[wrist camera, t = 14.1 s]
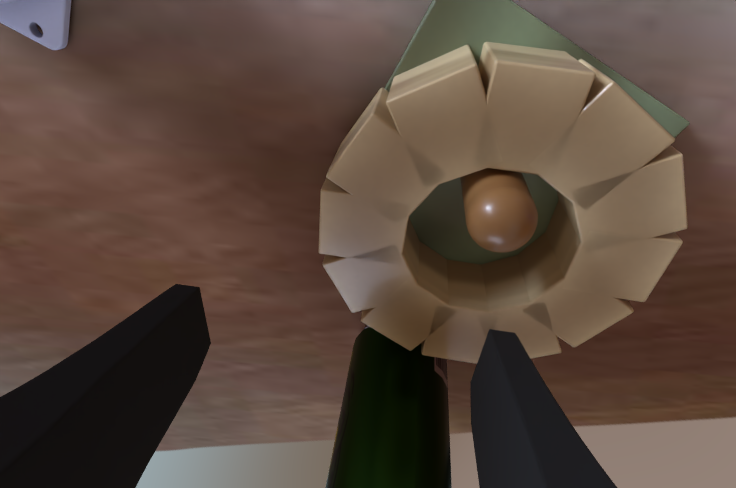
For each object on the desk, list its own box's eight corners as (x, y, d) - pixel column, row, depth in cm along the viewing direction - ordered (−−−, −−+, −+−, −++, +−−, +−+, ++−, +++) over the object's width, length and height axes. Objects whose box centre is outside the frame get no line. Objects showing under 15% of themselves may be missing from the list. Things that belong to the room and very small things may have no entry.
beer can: (418, 298, 23) (408, 561, 13) (461, 359, 25) (482, 622, 15) (337, 328, 25) (276, 574, 15) (384, 382, 27) (358, 626, 17)
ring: (272, 175, 18) (246, 212, 16) (553, -54, 13) (585, -56, 10) (439, 347, 23) (440, 398, 20) (697, 235, 17) (744, 285, 15)
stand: (329, 189, 20) (292, 273, 14) (453, -39, 14) (466, -34, 9) (504, 282, 21) (527, 386, 16) (675, 112, 16) (792, 188, 11)
